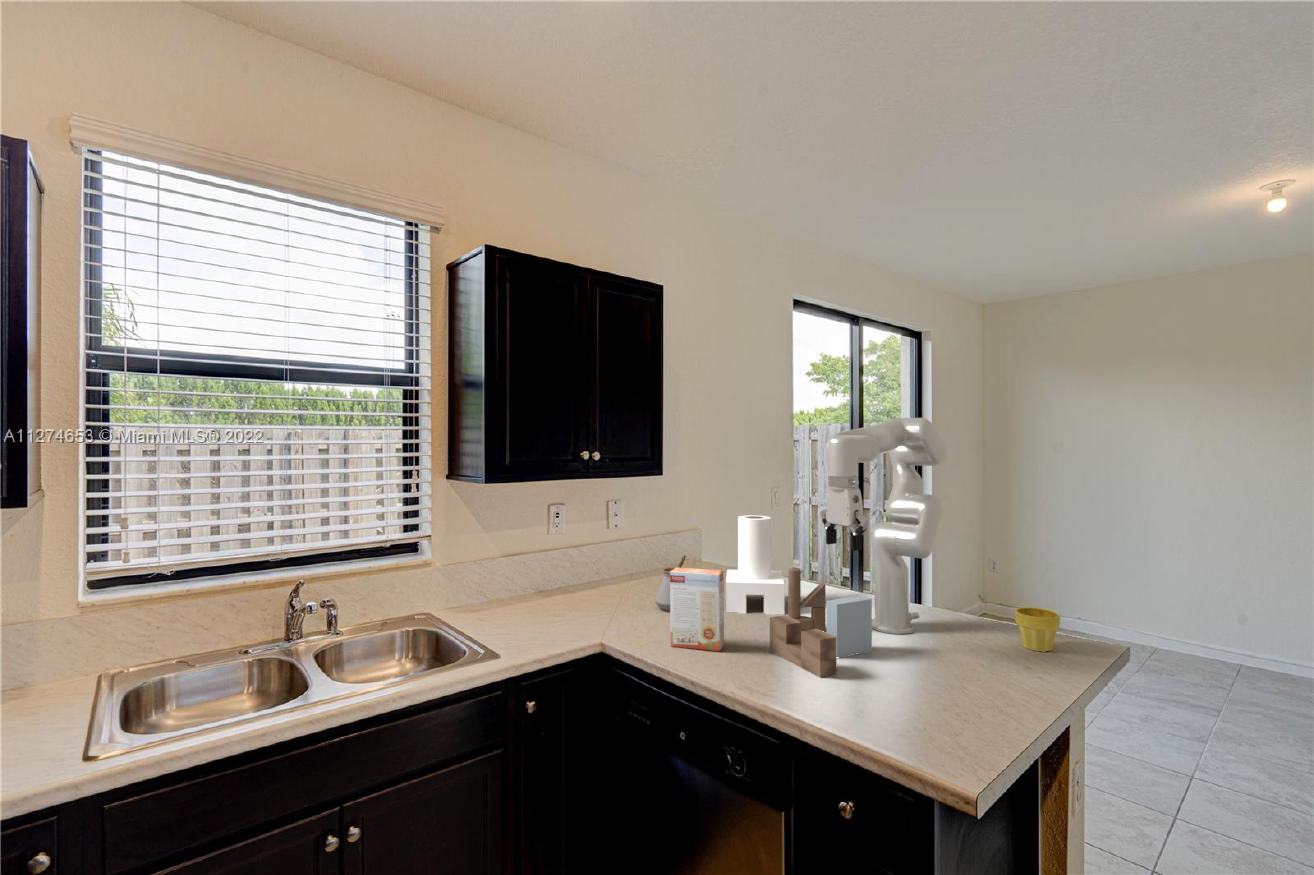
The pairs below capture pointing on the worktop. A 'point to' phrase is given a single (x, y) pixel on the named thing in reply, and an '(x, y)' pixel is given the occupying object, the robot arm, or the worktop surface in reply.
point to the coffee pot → (666, 588)
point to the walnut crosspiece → (803, 646)
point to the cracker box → (697, 608)
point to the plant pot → (1037, 627)
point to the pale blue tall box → (850, 624)
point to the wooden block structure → (806, 602)
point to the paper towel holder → (754, 568)
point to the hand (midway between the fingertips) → (843, 546)
